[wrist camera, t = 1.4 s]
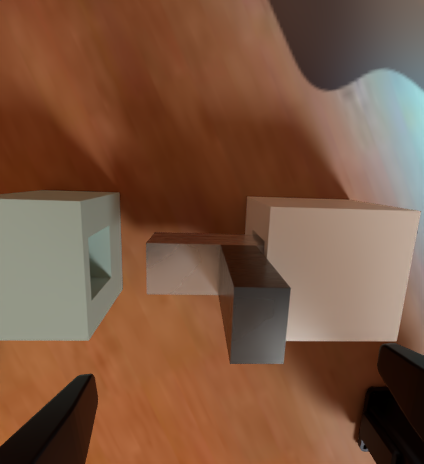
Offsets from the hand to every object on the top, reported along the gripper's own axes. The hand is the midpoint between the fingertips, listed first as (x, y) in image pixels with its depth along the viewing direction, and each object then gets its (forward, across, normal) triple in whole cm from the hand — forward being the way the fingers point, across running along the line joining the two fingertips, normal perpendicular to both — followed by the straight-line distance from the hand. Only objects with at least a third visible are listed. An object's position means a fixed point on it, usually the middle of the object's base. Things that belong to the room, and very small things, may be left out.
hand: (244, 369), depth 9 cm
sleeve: (+13, -7, +1) cm, 15 cm away
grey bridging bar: (+10, -4, 0) cm, 11 cm away
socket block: (+14, +9, 0) cm, 17 cm away
